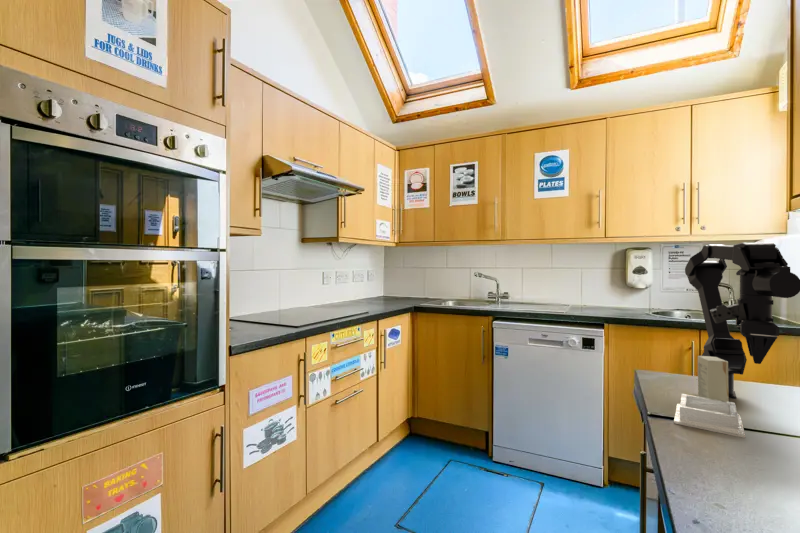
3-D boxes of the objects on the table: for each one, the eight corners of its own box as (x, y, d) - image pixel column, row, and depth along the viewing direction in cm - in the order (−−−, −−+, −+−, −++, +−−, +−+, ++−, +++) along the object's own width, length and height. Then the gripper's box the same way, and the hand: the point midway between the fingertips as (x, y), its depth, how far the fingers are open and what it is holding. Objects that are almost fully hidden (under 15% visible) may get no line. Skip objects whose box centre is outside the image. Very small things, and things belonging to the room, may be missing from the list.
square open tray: (677, 405, 98) (677, 391, 98) (739, 417, 91) (739, 401, 91) (674, 423, 87) (674, 407, 87) (745, 438, 80) (745, 420, 80)
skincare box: (729, 412, 94) (729, 361, 94) (708, 410, 96) (708, 360, 95) (716, 403, 100) (717, 356, 100) (696, 401, 102) (697, 354, 102)
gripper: (711, 291, 105) (711, 348, 105) (713, 295, 91) (713, 362, 91) (767, 293, 99) (767, 354, 99) (779, 298, 84) (779, 370, 84)
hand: (755, 359), depth 93 cm, fingers open, 9 cm apart
